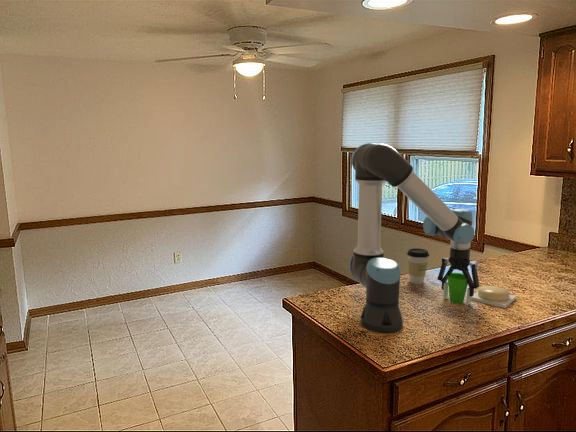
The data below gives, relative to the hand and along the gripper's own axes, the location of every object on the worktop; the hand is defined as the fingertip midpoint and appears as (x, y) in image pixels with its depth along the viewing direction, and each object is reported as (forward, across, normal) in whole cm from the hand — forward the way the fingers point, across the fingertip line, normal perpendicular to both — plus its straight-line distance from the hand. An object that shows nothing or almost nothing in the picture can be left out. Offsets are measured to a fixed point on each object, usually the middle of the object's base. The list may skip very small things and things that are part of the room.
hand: (456, 300), depth 183 cm
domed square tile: (0, -10, -13) cm, 16 cm away
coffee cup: (+1, +24, -12) cm, 27 cm away
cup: (+1, 0, 0) cm, 1 cm away
